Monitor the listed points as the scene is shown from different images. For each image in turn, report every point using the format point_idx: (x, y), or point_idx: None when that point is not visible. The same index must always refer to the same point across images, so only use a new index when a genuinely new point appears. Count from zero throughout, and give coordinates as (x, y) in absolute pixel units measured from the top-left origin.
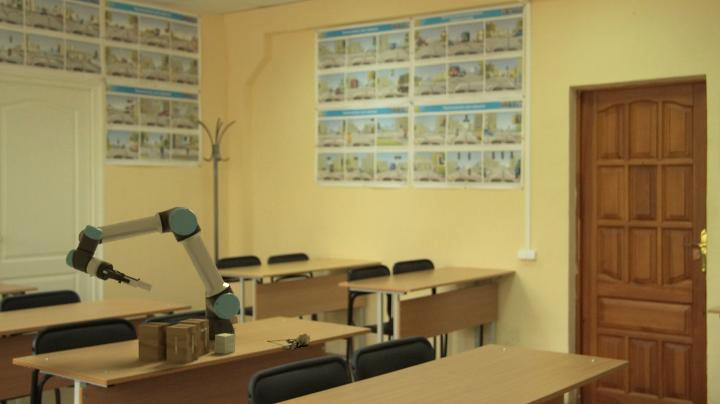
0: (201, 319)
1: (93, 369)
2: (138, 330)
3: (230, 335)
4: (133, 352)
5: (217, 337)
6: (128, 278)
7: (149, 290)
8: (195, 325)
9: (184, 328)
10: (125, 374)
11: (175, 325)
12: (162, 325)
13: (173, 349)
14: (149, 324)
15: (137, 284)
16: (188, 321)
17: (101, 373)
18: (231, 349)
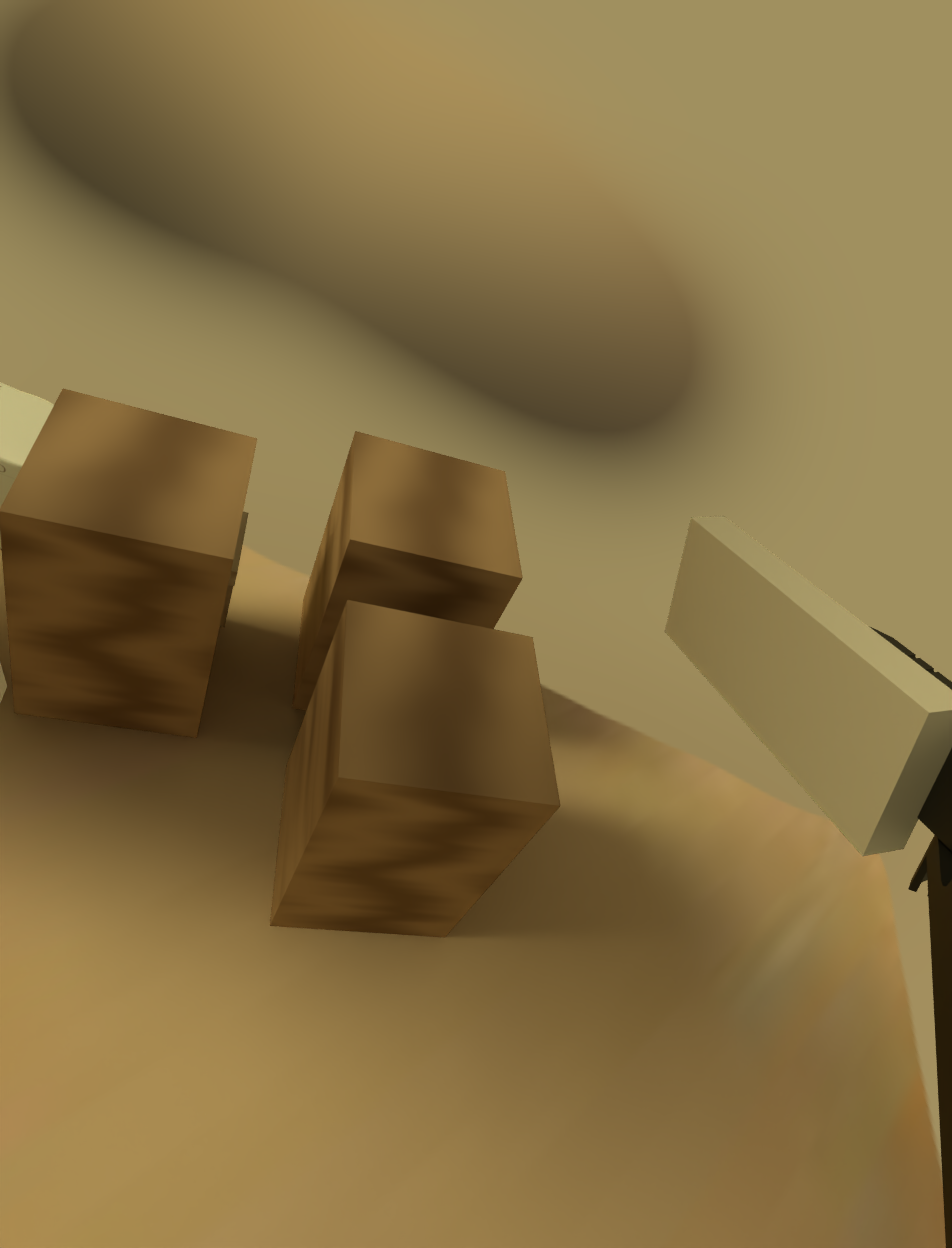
0: (62, 430)
1: (812, 1066)
2: (538, 829)
3: (34, 395)
4: (117, 1230)
5: None
6: (865, 640)
7: (3, 673)
8: (382, 440)
9: (506, 481)
10: (766, 803)
11: (433, 542)
12: (463, 624)
13: None
14: (472, 733)
15: (685, 570)
16: (207, 497)
17: (834, 938)
18: None
